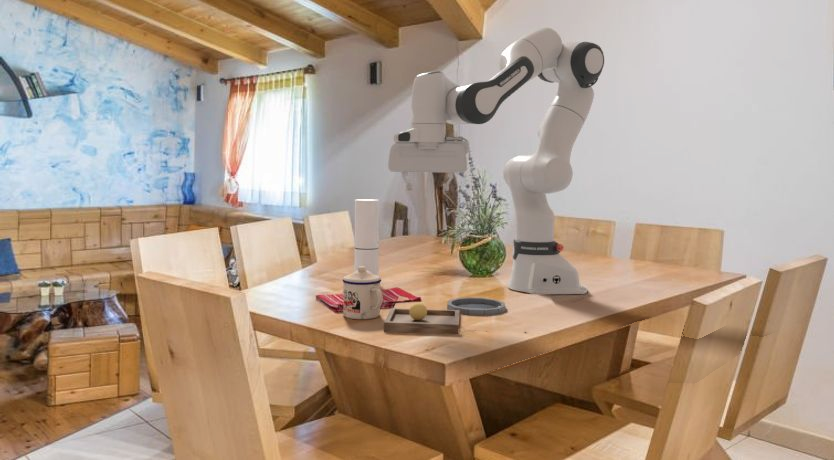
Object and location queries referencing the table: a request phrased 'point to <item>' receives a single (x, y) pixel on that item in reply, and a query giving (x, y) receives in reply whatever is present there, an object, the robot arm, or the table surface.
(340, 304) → the dish towel
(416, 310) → the ball
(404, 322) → the tray
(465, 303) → the dish
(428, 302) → the table surface
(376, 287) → the teacup with lid
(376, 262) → the cylindrical container
